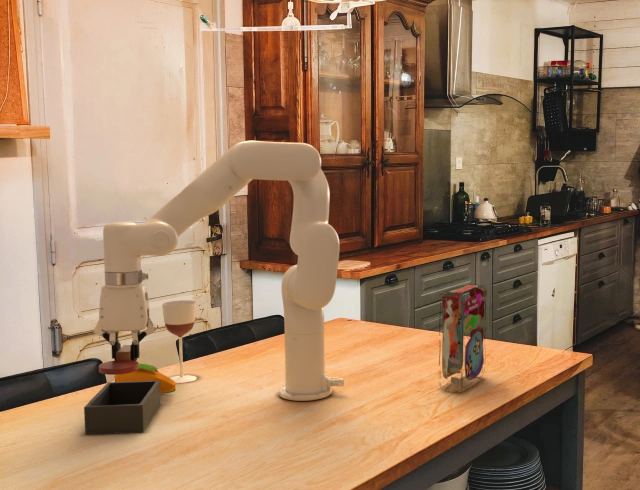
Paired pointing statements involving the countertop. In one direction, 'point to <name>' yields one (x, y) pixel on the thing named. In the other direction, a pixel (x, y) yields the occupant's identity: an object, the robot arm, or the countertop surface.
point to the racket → (120, 363)
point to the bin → (122, 407)
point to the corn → (148, 377)
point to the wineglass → (180, 327)
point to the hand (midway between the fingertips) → (125, 360)
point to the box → (454, 333)
